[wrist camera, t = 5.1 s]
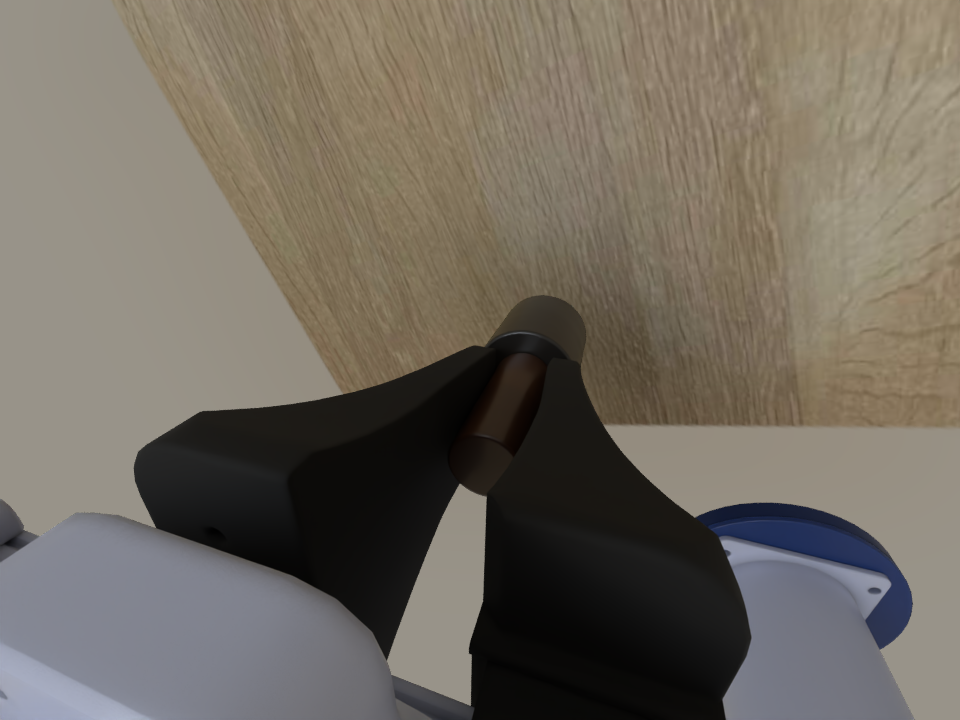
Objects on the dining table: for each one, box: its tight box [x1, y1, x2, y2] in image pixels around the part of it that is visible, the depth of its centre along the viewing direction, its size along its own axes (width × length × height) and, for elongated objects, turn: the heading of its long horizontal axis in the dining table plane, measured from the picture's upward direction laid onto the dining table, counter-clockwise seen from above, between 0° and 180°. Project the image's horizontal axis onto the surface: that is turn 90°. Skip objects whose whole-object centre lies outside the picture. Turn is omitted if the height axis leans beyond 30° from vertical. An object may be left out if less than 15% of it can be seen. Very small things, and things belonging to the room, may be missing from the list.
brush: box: [448, 295, 586, 497], centre depth 11 cm, size 3×3×7 cm
